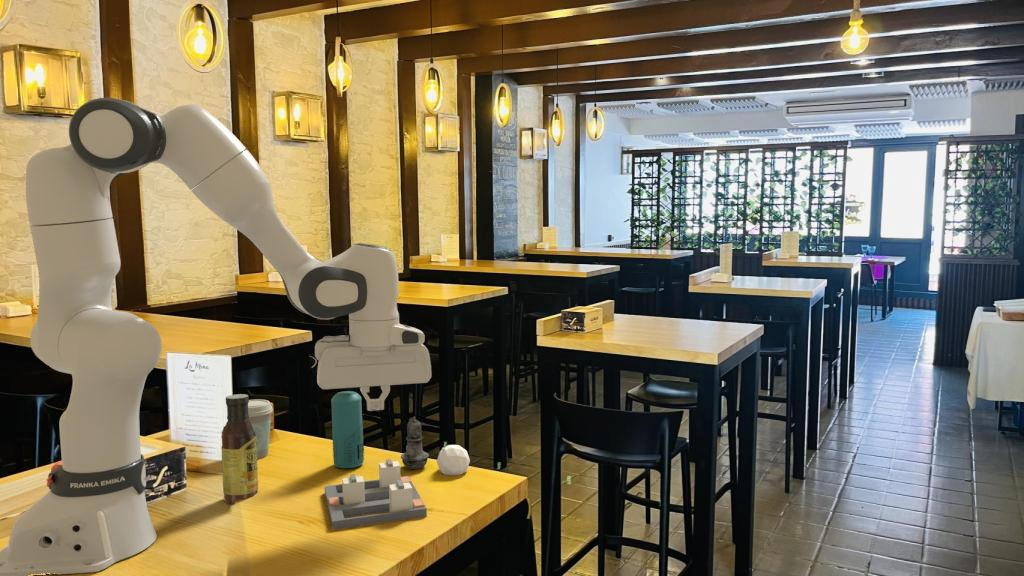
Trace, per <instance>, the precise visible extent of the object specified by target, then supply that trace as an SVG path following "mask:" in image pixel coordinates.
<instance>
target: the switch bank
mask: <svg viewBox="0 0 1024 576" xmlns="http://www.w3.org/2000/svg"><path fill="white" fill-rule="evenodd" d="M401 481H402V482H403V483H408V482H409V483H410V485H411V487H412V502H413V509H410V510H403V511H396V512H390V509H389V487H383V488H380V481H379V479H371V480H364V483H365V502H362V503H355V504H347V505H343V485H342V483H340V484H331V485H324V498H325V500H326V505H327V510H328V514H329V520H330V523H331V529H332V530H333V531H334V530H342V529H347V528H355V527H362V526H368V525H370V526H371V525H376V524H383V523H389V522H397V521H398V522H399V521H405V520H411V519H419V518H425V517H428V514H427V513H428V511H427V507H426V505H425V503H424V501H423V500H422V498H421V495H420V494H419V492H418V490H417V489H416V486H415V485H414V483H413V482H412V480H411V478H410V477H409V475H405V476H404V475H403V476H401Z"/></svg>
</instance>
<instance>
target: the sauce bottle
mask: <svg viewBox="0 0 1024 576" xmlns="http://www.w3.org/2000/svg"><path fill="white" fill-rule="evenodd" d="M249 400H250V399H249V395H248V394H245V393H243V394H242V393H238V394H237V393H236V394H231V395H227V396H226V397H225V404H226V413H227V414H226V415H227V416H226V419H227V421H226V423H225V425H224V426H223V428H222V431H221V447H220V448H221V464H222V465H221V467H222V489H223V490H222V493H223V500H224V501H225V502H226V504H227V503H228V504H232V505H234V504H235V503H236V500H237V501H240V500H241V501H242V500H246V499H249V498H252V497H254V496H256V495H257V494H258V491H259V473H258V472H259V471H258V459H257V441H256V434H255V431H254V429H253V427H252V424H251V422H250V420H249V415H248V403H249Z"/></svg>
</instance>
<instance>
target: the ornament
mask: <svg viewBox="0 0 1024 576" xmlns="http://www.w3.org/2000/svg"><path fill="white" fill-rule="evenodd" d="M470 462H471V460H470V456H469V454H468V451H467V450H466V449H465V448H463V447H462V446H461V445H459V444H447V445H446V446H445V447H442V448H441V450H439V453H438V455H437V460H436V463H437V466H438V469H439V472H440V473H442V474H443V475H444V476H459V475H462V474H465V473H466V472H468V469H469V465H470Z"/></svg>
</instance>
